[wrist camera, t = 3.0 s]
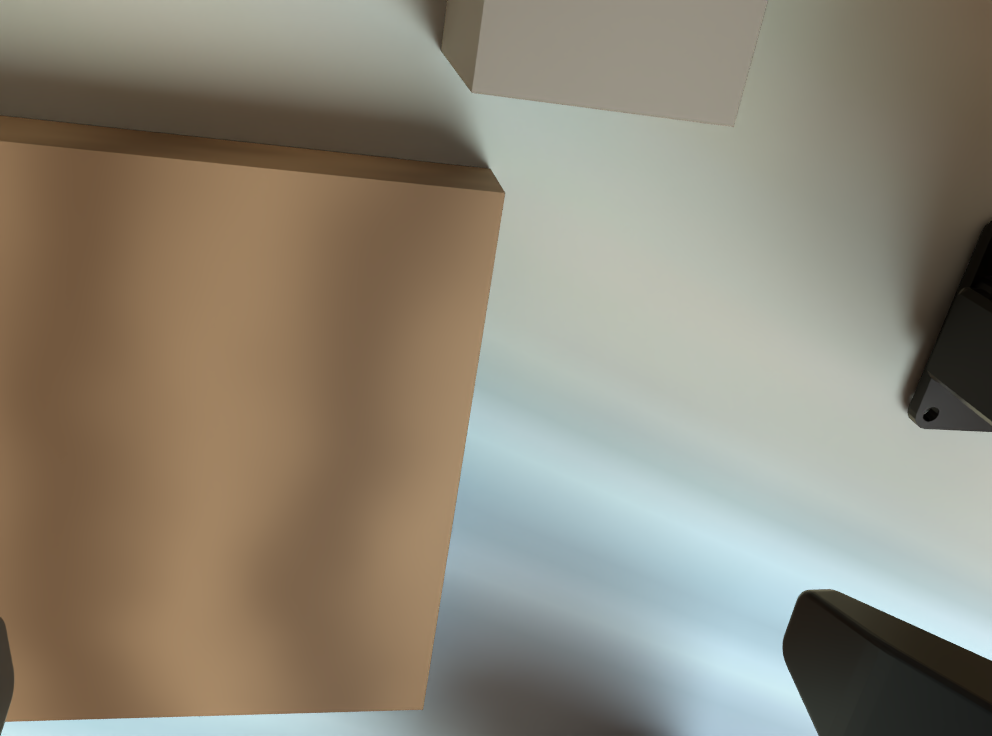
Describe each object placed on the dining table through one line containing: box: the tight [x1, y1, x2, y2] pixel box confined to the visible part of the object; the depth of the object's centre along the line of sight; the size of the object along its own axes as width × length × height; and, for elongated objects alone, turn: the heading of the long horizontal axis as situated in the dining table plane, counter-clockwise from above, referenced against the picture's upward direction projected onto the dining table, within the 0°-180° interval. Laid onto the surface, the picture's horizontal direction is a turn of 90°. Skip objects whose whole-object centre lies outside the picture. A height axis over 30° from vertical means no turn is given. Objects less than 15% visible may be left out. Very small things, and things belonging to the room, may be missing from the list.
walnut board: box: [0, 116, 505, 722], centre depth 22 cm, size 18×16×2 cm
